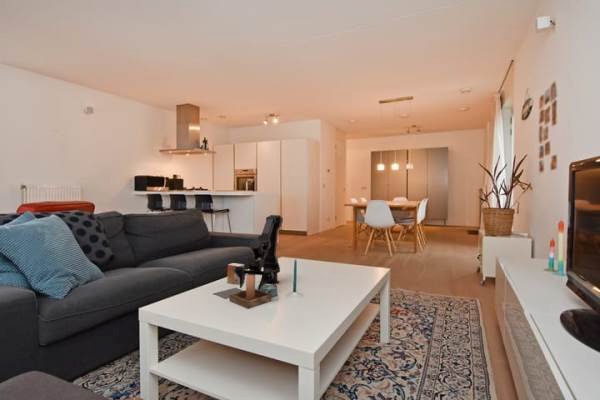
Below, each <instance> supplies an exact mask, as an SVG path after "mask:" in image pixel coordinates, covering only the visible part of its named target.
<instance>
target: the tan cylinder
mask: <svg viewBox="0 0 600 400" xmlns="http://www.w3.org/2000/svg"><path fill="white" fill-rule="evenodd" d="M245 279H246V280H245V283H246V285H245V290H246V300H247V301H250V300H254V299H255V289H256V275H255V274H246V276H245Z"/></svg>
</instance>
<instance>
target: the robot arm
mask: <svg viewBox="0 0 600 400" xmlns="http://www.w3.org/2000/svg"><path fill="white" fill-rule="evenodd" d="M283 221H284V219H283V217H282V215H278V214H277V215H276V214H275V215H274V214H270V215H268V216H266V218H265V223H264V226H263V229H262V233H261V234H260V235H259V236H257V237H254V239H253V240H250V242H249V245H248V246H249V248H250V251H251V253H252V254H253V256H252V258H250V257H249V258H246V263H245V264H246V266H247V269H245V266H244V267H239V266H237V267H236V268H235V272H236V274H237V276H238V277H239V278H240V284H239V289H242V288H243V286H244V283H245V281H246V280H245V279H246V275H247V274H255V276H261V278H260V281H259V283H258V289H257V290H259V291H261V288H263V287H264V285H265V284H268V283H273V284H278V283H280V280H278V274H279V273H280V272H281V267H280V264H279V259H278V257H277V248H278V247H277V245H278V235H279V234H278V233H279V230H280V228H281V227H282V224H283ZM266 251H267V253H266ZM262 269H263V270H262ZM273 284H272V285H273Z"/></svg>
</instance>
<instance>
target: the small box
mask: <svg viewBox="0 0 600 400" xmlns="http://www.w3.org/2000/svg"><path fill="white" fill-rule="evenodd" d="M237 266H239V267H244V268H245V263H244V264H243V263H237V262H236V263H235V262H233V263H232V262H231V263H229V264H227V276H226V277H227V278H226V279H227V281H226V282H227V283H230V284H232V285H233V284H234V285H237V286H238V285H240V278H239V277H238V276H237V274H236V272H235V268H236V267H237Z"/></svg>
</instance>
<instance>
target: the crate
mask: <svg viewBox="0 0 600 400" xmlns="http://www.w3.org/2000/svg"><path fill="white" fill-rule="evenodd" d="M229 302H231V303H234V304H236V305H238V306H241V307H243V308H246V309H247V310H249V309H251V308H255V307H257V306H261V305H264V304H267V303H270V302H272V294H270V293H268V292H264V291H261V290H259V289H256V288H255V299H254V300H250V301H247V300H246V289H245V290H243V291H241V292H237V293H234V294H230V298H229Z"/></svg>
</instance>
